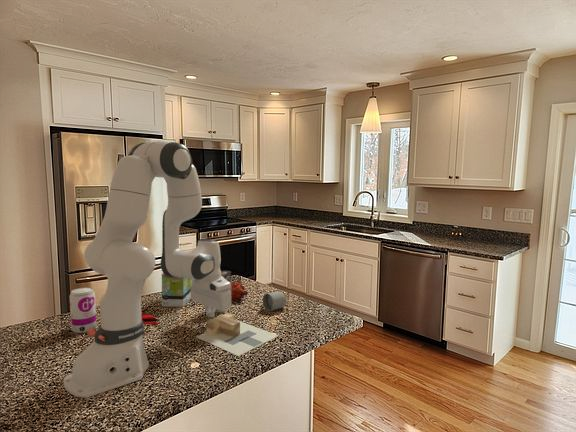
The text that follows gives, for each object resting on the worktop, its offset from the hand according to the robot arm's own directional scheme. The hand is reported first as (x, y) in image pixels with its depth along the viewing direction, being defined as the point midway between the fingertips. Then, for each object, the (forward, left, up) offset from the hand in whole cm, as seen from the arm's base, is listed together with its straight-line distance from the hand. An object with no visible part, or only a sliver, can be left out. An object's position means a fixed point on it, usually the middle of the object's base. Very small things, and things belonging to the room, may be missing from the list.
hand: (210, 316), depth 144 cm
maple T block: (-1, -10, -3) cm, 11 cm away
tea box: (+8, +33, -4) cm, 35 cm away
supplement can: (-33, +33, -4) cm, 47 cm away
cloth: (-14, +29, -5) cm, 33 cm away
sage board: (-1, -16, -4) cm, 16 cm away
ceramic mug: (+30, -6, -4) cm, 30 cm away
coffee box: (+14, +10, -4) cm, 18 cm away
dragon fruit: (+28, +15, -4) cm, 33 cm away
